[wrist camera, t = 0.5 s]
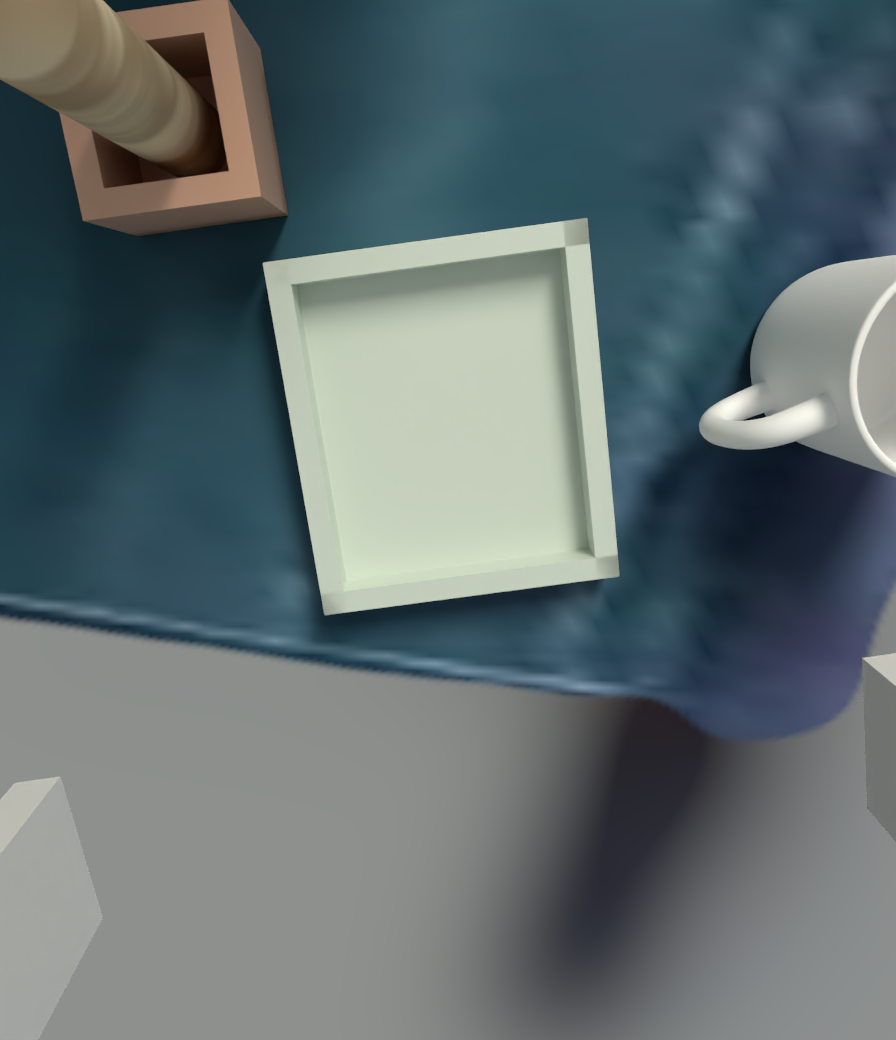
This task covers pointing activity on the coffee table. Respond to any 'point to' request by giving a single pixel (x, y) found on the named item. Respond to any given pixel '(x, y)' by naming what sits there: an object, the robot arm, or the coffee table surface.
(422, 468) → the tray
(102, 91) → the pin
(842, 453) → the cup
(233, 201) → the holder
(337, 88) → the coffee table surface
